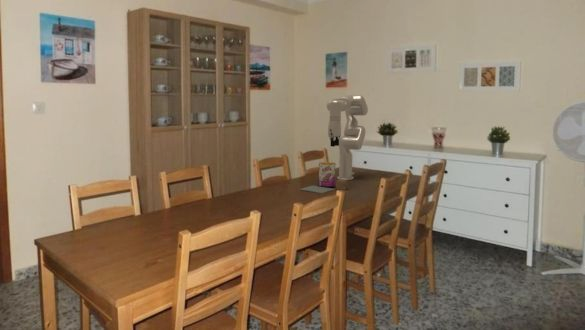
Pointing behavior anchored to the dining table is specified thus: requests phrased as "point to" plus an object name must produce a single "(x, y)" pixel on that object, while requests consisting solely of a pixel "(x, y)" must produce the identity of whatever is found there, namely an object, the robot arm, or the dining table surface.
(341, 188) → the walnut block
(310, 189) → the slate mat
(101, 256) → the dining table surface
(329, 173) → the candy bar box
